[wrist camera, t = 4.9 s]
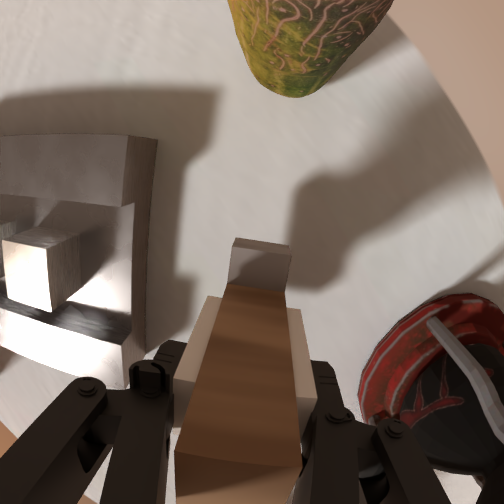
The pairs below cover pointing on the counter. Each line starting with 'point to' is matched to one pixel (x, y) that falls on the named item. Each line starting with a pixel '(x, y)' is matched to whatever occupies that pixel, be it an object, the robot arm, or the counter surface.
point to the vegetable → (302, 38)
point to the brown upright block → (244, 392)
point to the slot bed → (82, 247)
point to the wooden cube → (42, 266)
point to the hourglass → (445, 386)
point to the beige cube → (3, 231)
